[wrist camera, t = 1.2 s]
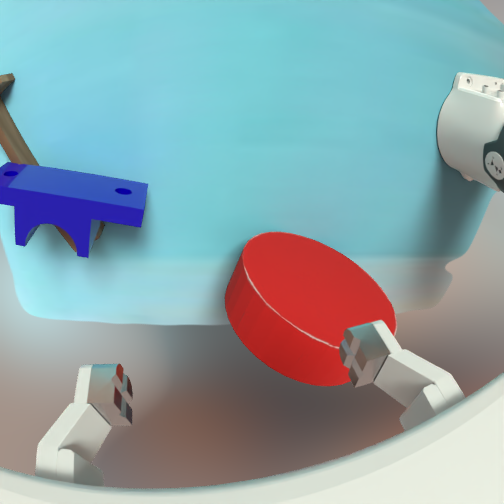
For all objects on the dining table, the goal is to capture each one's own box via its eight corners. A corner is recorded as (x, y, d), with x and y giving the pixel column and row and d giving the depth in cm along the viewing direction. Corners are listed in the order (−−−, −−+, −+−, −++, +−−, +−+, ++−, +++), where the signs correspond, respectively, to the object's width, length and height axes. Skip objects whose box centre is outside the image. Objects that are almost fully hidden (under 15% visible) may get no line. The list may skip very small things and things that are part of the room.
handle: (12, 73, 21) (-6, 76, 18) (104, 225, 35) (97, 242, 32) (-9, 95, 21) (-27, 101, 18) (81, 239, 35) (73, 257, 32)
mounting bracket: (8, 162, 24) (6, 209, 27) (-22, 183, 18) (-19, 237, 21) (148, 184, 31) (138, 231, 34) (144, 209, 26) (134, 265, 28)
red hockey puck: (217, 254, 41) (238, 386, 25) (231, 217, 38) (264, 347, 22) (336, 279, 48) (391, 381, 32) (354, 250, 45) (422, 351, 29)
